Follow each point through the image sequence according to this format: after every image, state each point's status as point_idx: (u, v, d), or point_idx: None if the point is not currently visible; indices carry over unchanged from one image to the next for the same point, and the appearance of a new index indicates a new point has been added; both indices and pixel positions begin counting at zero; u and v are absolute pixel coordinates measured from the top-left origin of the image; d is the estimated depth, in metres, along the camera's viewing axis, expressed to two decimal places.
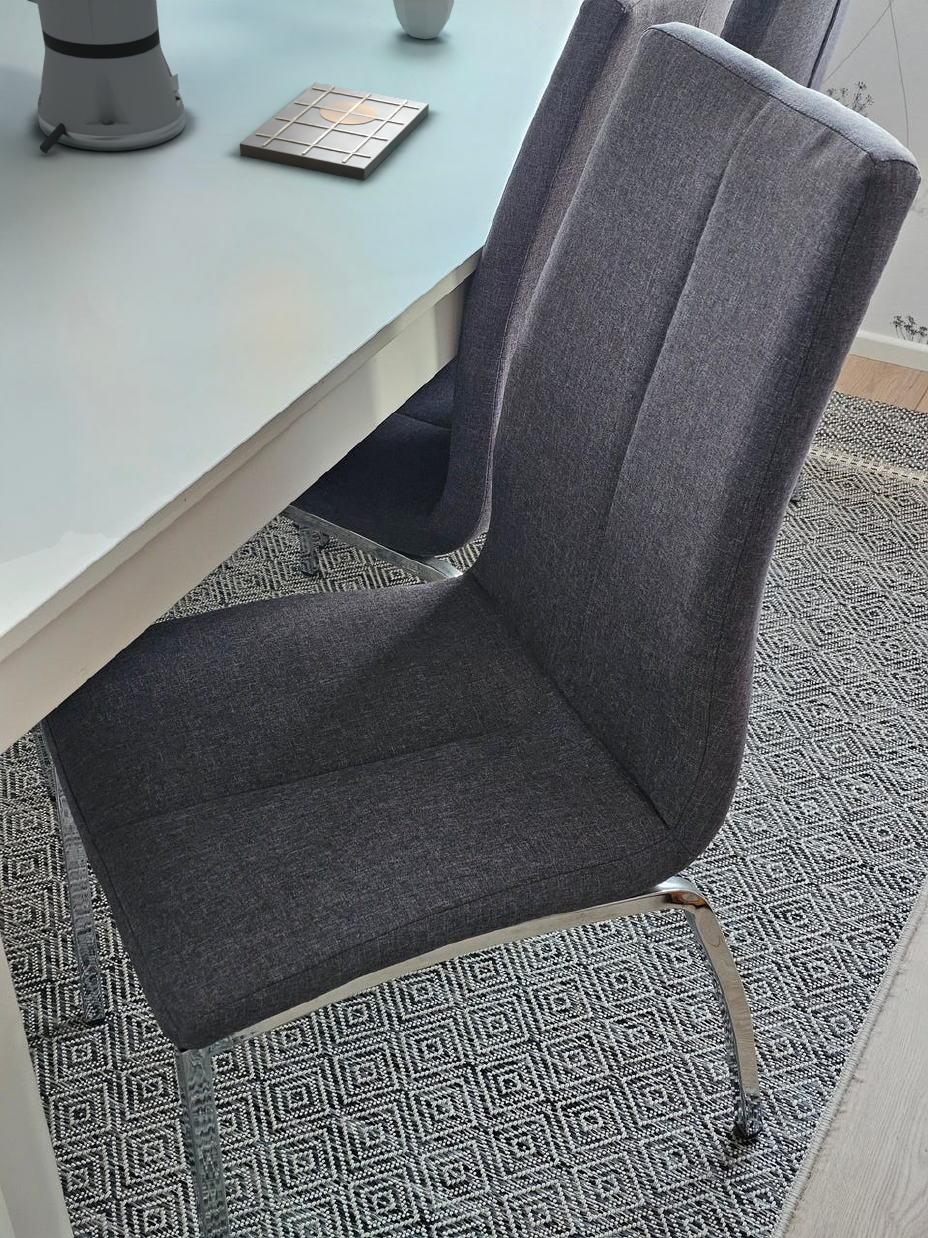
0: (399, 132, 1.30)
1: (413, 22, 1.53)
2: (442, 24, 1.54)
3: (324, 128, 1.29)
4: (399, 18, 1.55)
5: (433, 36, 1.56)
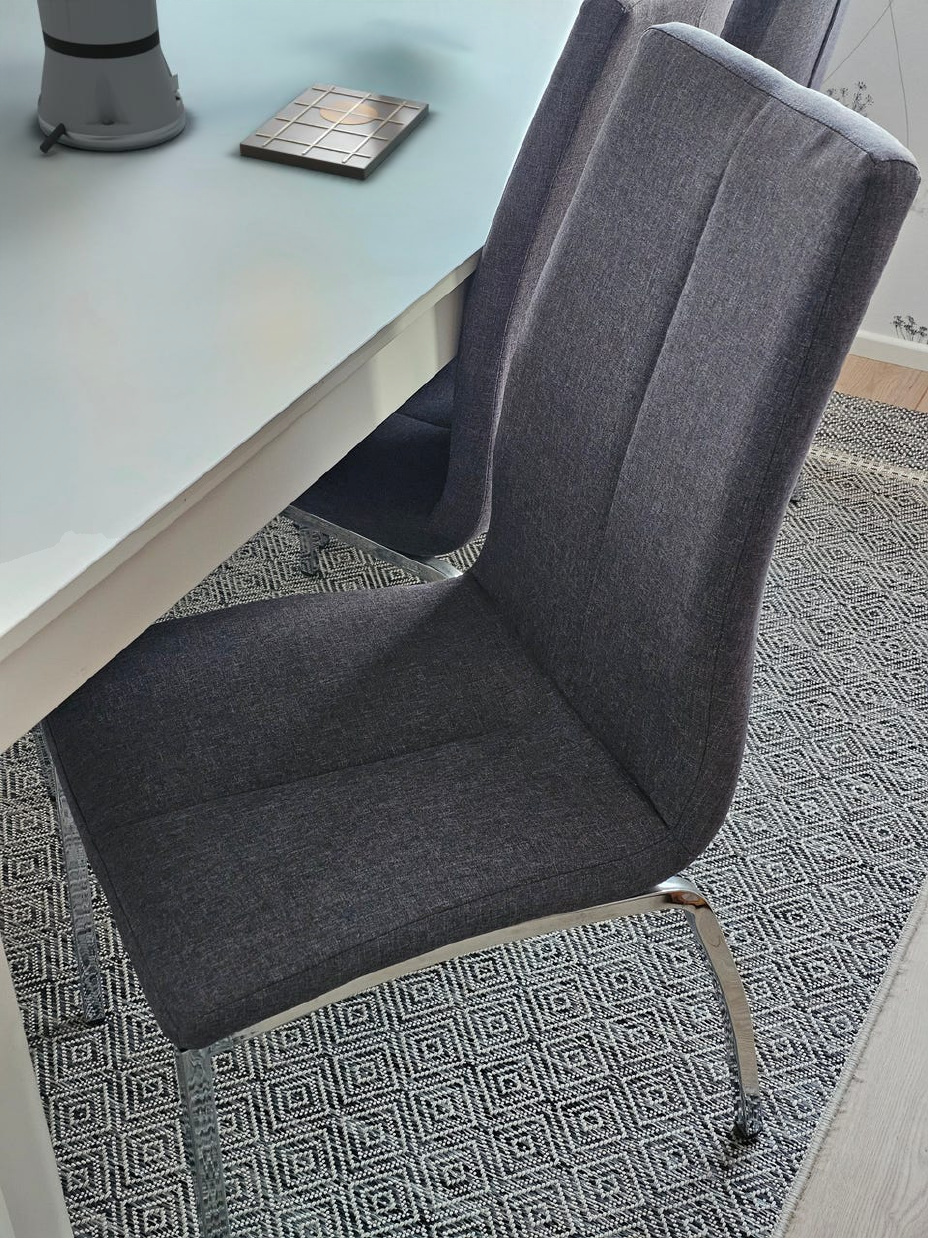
0: (399, 132, 1.30)
1: None
2: None
3: (324, 128, 1.29)
4: None
5: None
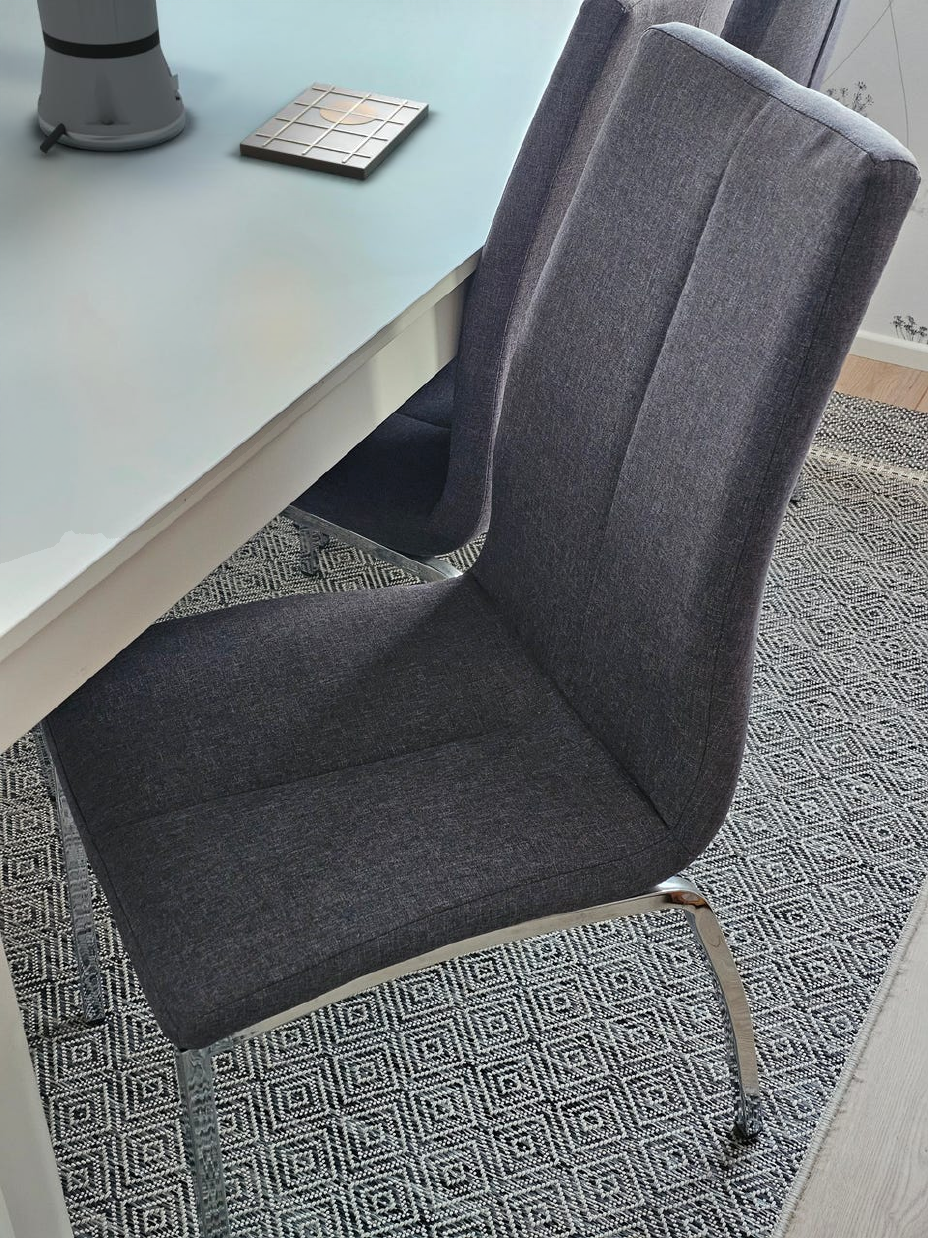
0: (399, 132, 1.30)
1: None
2: None
3: (324, 128, 1.29)
4: None
5: None
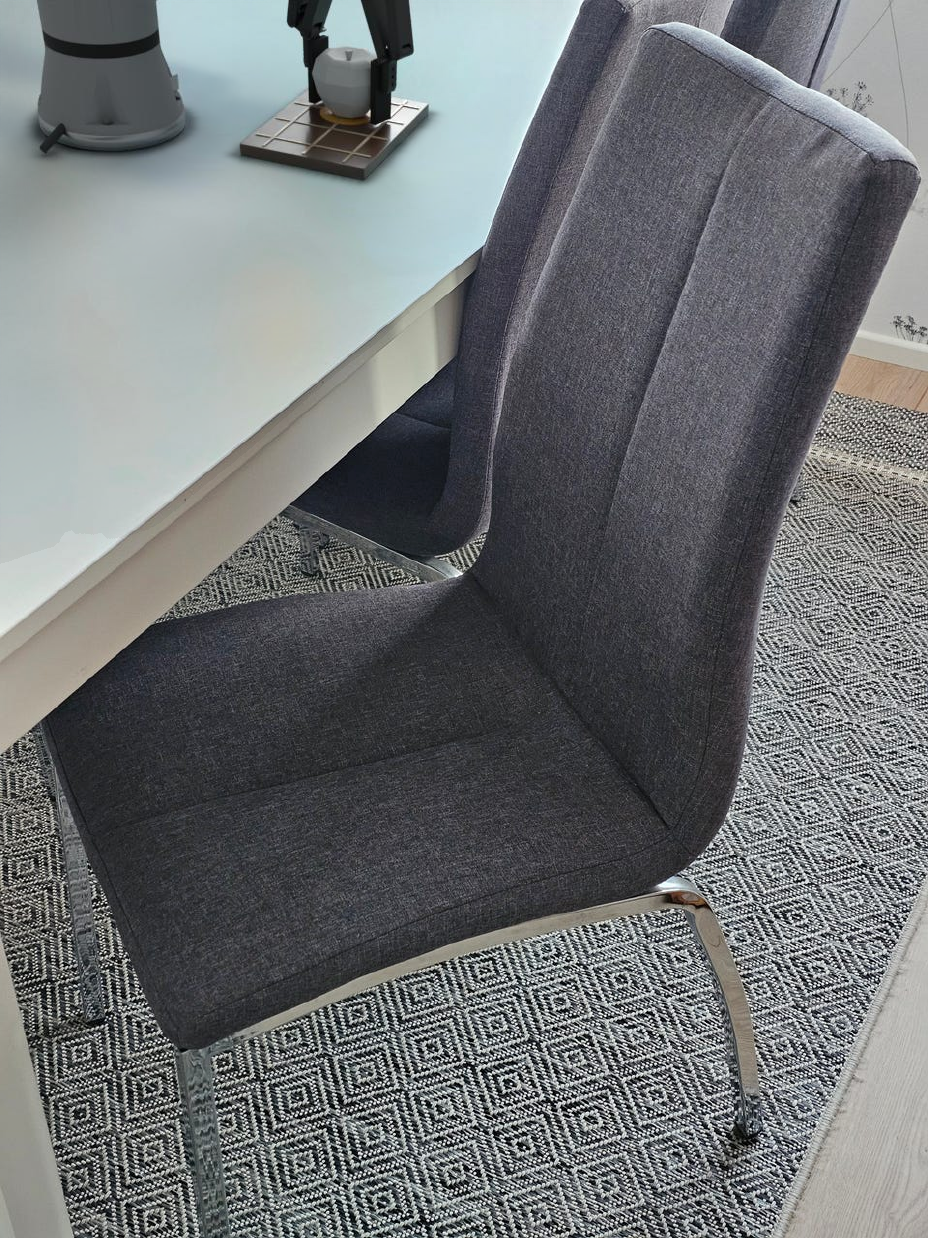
0: (399, 132, 1.30)
1: (335, 99, 1.29)
2: None
3: (324, 128, 1.29)
4: (320, 94, 1.31)
5: (361, 115, 1.31)
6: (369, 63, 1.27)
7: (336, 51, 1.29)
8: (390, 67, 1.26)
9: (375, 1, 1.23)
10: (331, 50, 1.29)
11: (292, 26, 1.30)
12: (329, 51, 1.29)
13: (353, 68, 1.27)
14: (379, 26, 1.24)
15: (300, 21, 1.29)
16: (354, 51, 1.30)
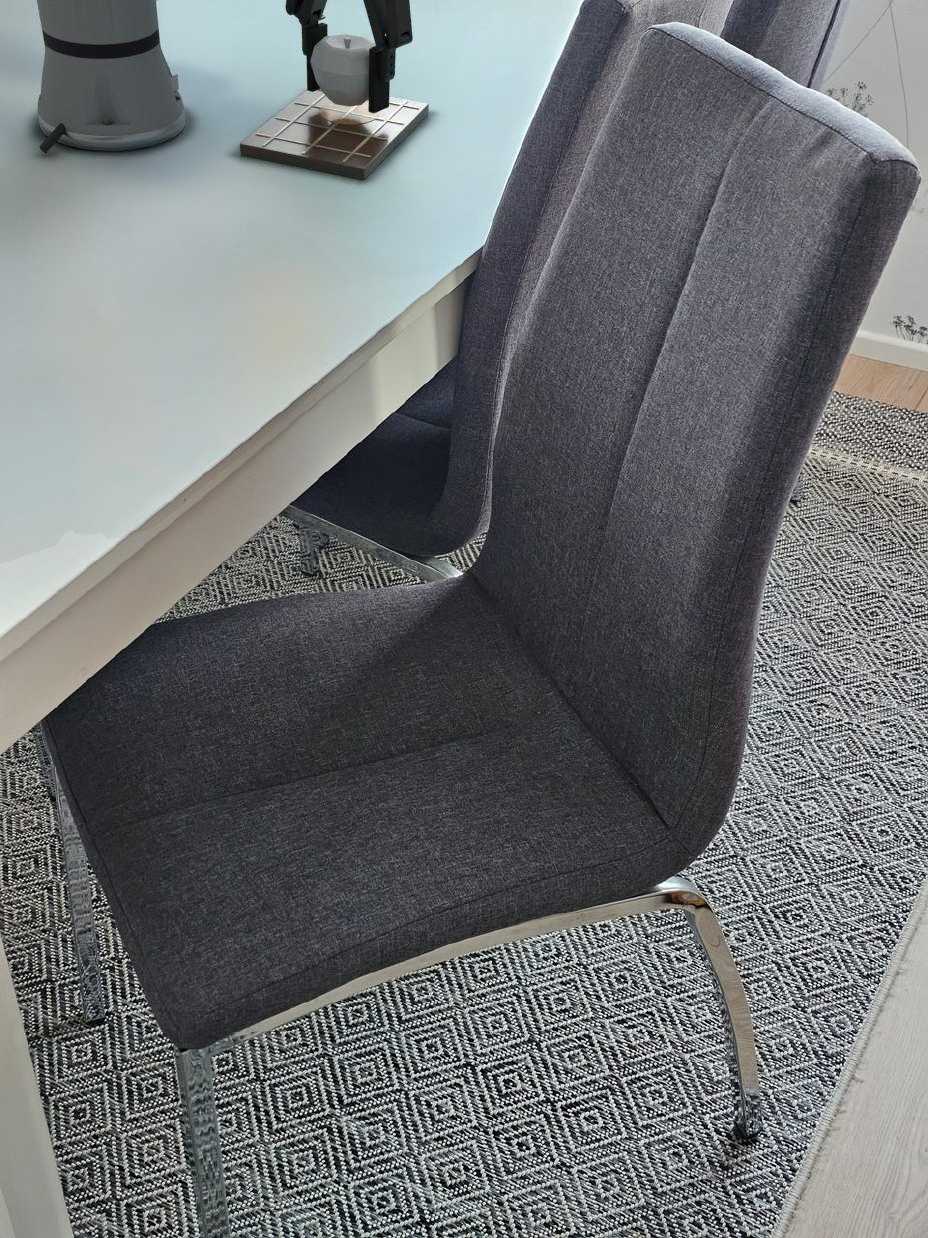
0: (399, 132, 1.30)
1: (334, 87, 1.28)
2: None
3: (324, 128, 1.29)
4: (318, 82, 1.30)
5: (359, 103, 1.31)
6: (368, 51, 1.27)
7: (334, 39, 1.29)
8: (389, 55, 1.25)
9: None
10: (330, 38, 1.28)
11: (291, 13, 1.29)
12: (327, 38, 1.28)
13: (352, 56, 1.26)
14: (377, 14, 1.23)
15: (299, 8, 1.28)
16: (353, 39, 1.29)
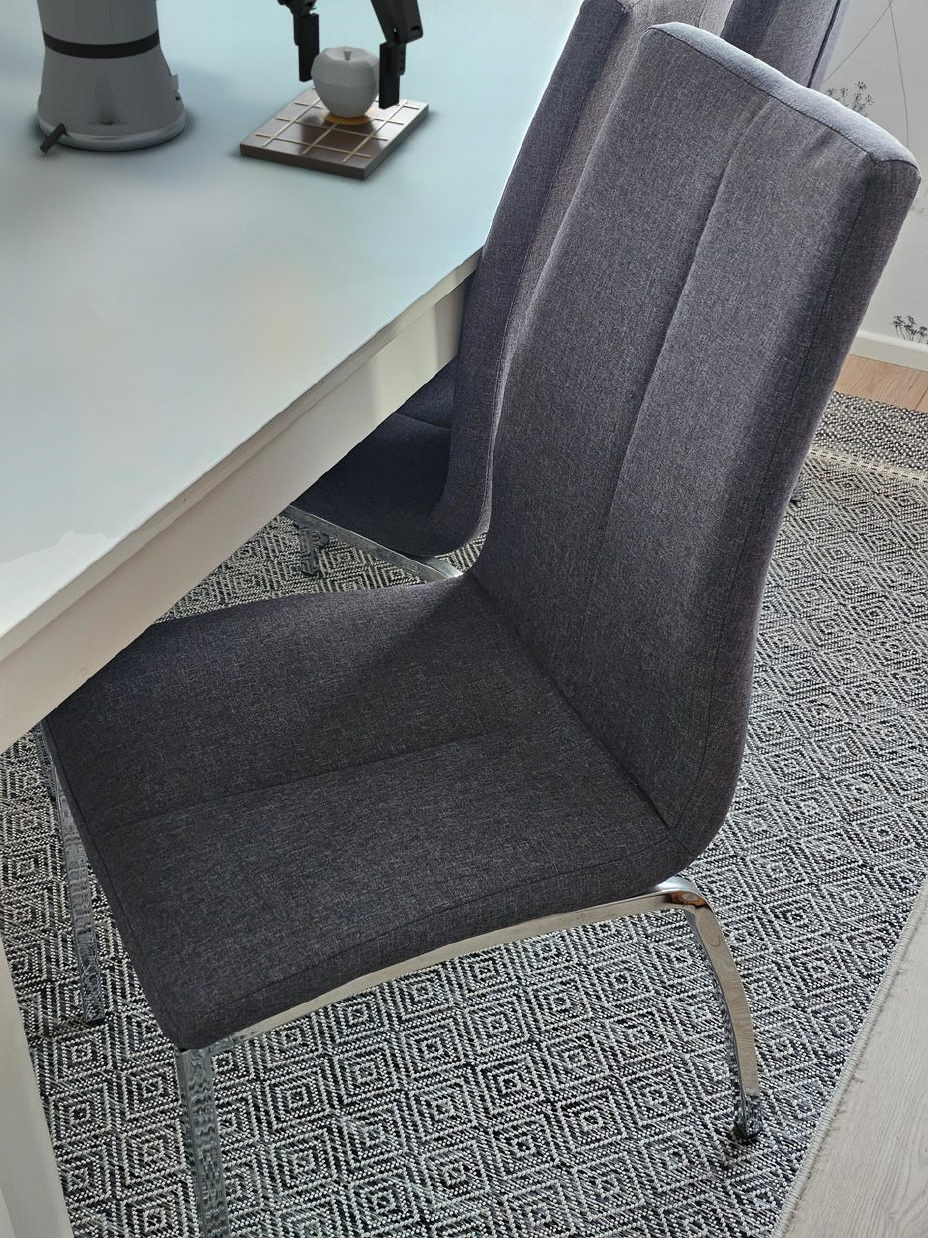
0: (399, 132, 1.30)
1: (334, 99, 1.29)
2: (369, 101, 1.30)
3: (324, 128, 1.29)
4: (319, 94, 1.31)
5: (359, 115, 1.31)
6: (368, 63, 1.27)
7: (334, 51, 1.29)
8: (399, 51, 1.24)
9: None
10: (330, 50, 1.29)
11: (282, 4, 1.29)
12: (327, 50, 1.29)
13: (351, 68, 1.27)
14: (385, 9, 1.22)
15: None
16: (353, 51, 1.30)
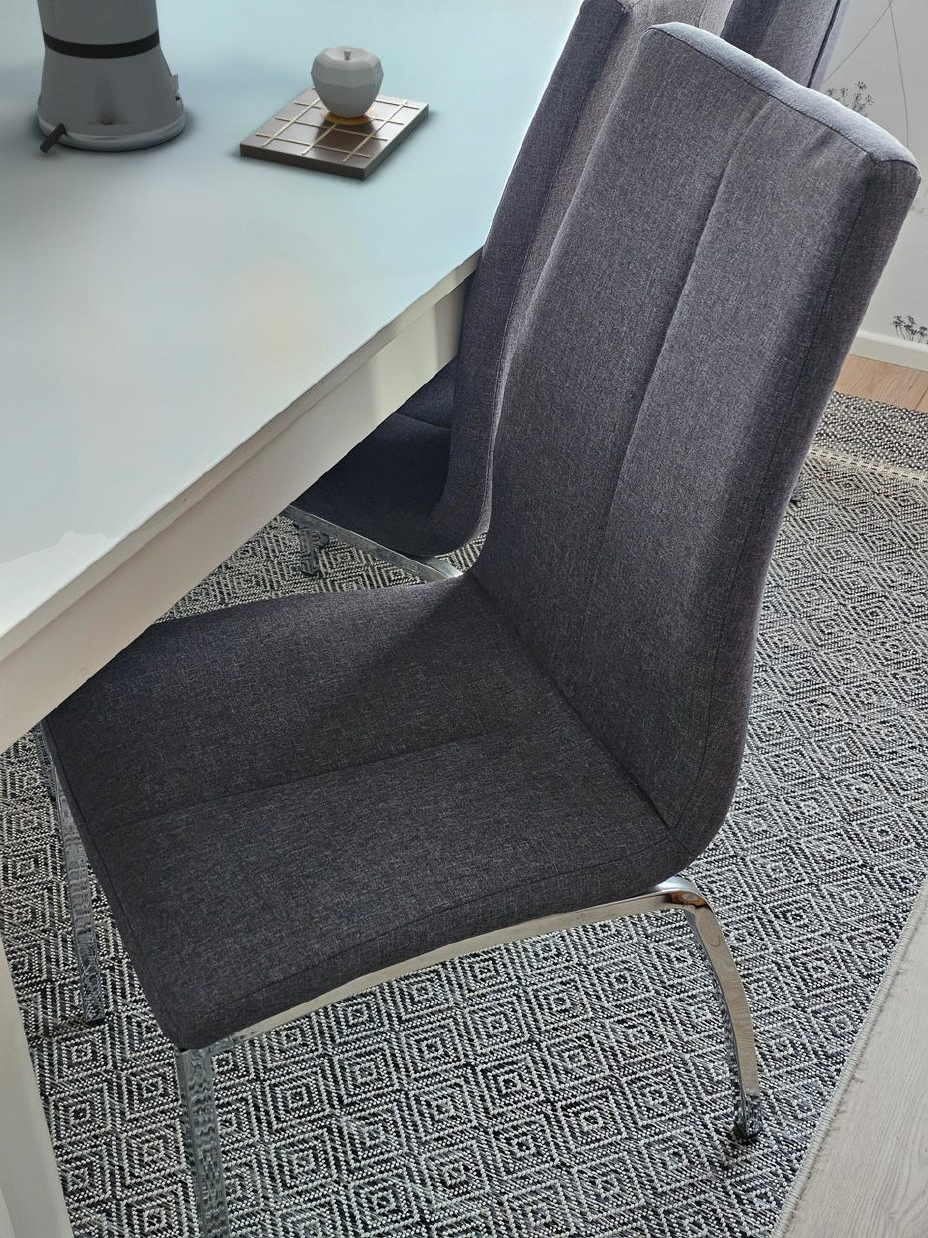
0: (399, 132, 1.30)
1: (334, 99, 1.29)
2: (369, 101, 1.30)
3: (324, 128, 1.29)
4: (319, 94, 1.31)
5: (359, 115, 1.31)
6: (368, 63, 1.27)
7: (334, 51, 1.29)
8: None
9: None
10: (329, 50, 1.29)
11: None
12: (327, 50, 1.29)
13: (351, 68, 1.27)
14: None
15: None
16: (353, 51, 1.30)
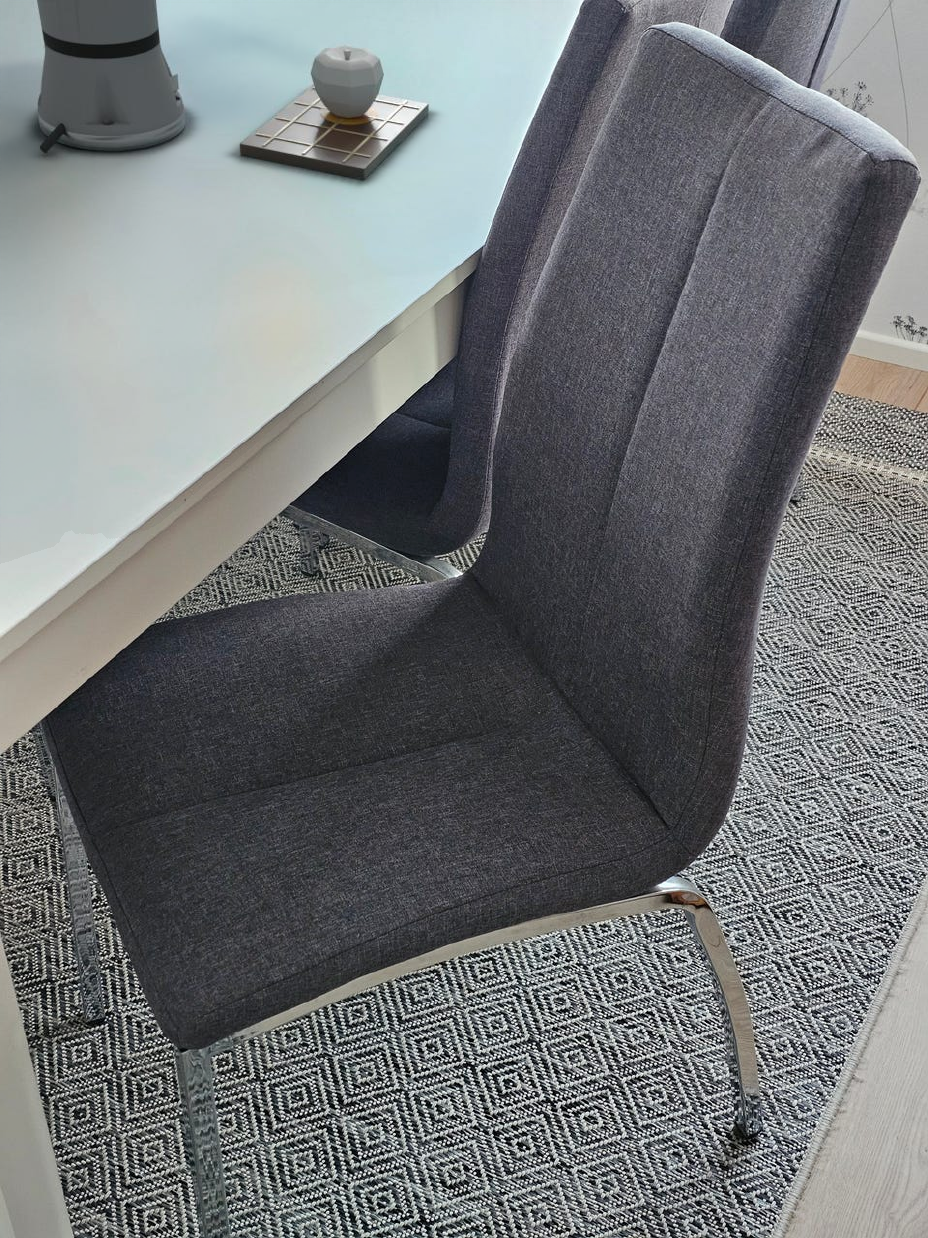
0: (399, 132, 1.30)
1: (334, 99, 1.29)
2: (369, 101, 1.30)
3: (324, 128, 1.29)
4: (319, 94, 1.31)
5: (359, 114, 1.31)
6: (368, 63, 1.27)
7: (334, 51, 1.29)
8: None
9: None
10: (329, 50, 1.29)
11: None
12: (327, 50, 1.29)
13: (351, 68, 1.27)
14: None
15: None
16: (352, 51, 1.30)
